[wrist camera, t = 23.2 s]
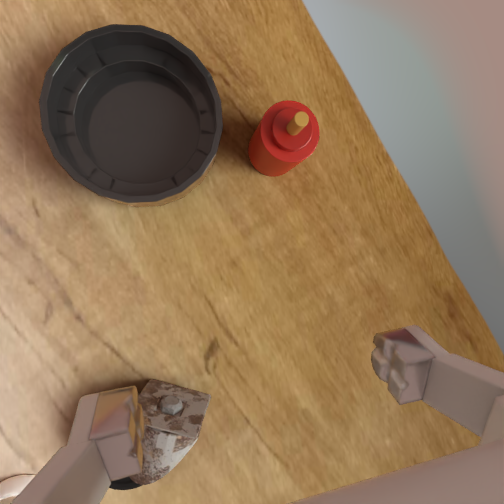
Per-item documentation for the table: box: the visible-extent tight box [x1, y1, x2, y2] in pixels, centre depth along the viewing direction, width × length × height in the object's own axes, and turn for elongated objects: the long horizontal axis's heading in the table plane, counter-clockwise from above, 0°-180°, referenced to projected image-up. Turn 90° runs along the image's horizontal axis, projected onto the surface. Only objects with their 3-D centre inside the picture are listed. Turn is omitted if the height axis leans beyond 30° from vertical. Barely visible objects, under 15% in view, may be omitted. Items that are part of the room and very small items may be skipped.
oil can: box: [248, 101, 319, 176], centre depth 31 cm, size 5×5×10 cm
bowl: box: [39, 24, 223, 207], centre depth 32 cm, size 15×15×5 cm
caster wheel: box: [109, 379, 211, 490], centre depth 33 cm, size 7×11×10 cm
